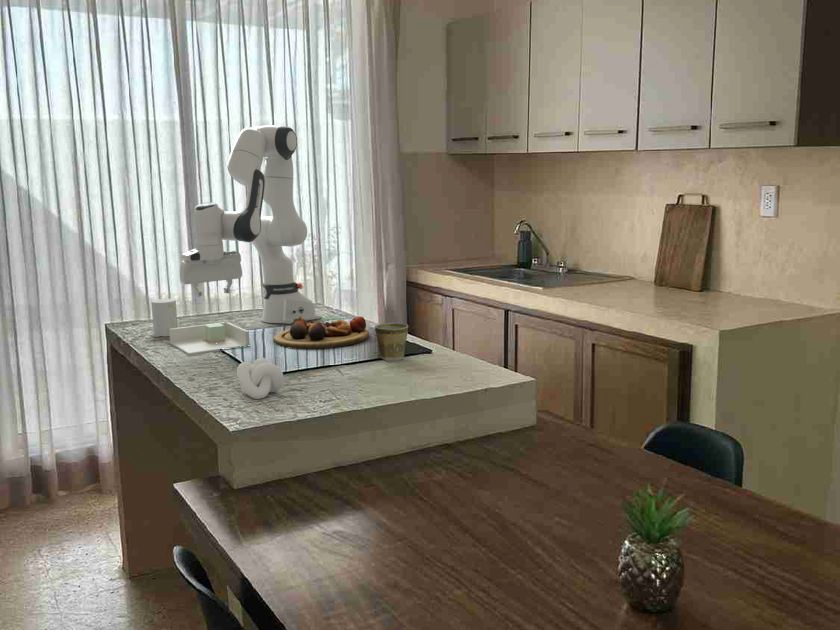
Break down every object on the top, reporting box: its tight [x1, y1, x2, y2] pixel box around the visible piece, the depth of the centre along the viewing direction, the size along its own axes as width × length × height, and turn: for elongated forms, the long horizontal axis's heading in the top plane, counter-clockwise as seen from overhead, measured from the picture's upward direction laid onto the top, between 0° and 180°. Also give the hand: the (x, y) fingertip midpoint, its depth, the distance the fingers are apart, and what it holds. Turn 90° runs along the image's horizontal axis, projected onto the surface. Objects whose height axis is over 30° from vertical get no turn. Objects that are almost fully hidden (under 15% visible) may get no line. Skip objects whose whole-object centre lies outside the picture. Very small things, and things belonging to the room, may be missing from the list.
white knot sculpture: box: [236, 357, 285, 400], centre depth 210 cm, size 11×12×9 cm
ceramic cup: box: [374, 322, 409, 362], centre depth 248 cm, size 13×10×10 cm
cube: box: [204, 322, 225, 342], centre depth 274 cm, size 5×5×5 cm
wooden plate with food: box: [272, 315, 370, 350], centre depth 276 cm, size 32×32×8 cm
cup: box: [150, 298, 179, 337], centre depth 287 cm, size 8×8×12 cm
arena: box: [169, 321, 251, 356], centre depth 270 cm, size 20×20×5 cm
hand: (213, 294), depth 272 cm, fingers open, 8 cm apart
